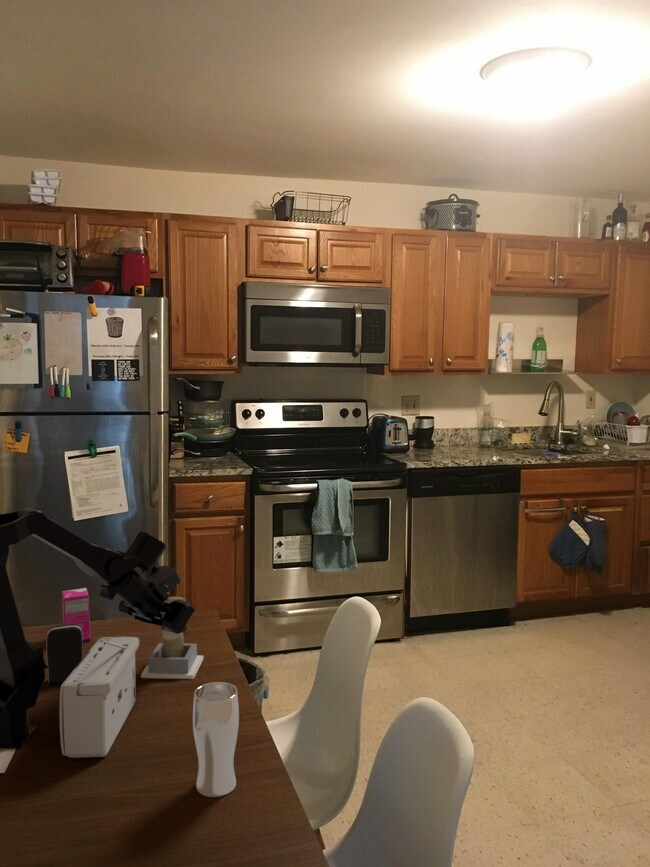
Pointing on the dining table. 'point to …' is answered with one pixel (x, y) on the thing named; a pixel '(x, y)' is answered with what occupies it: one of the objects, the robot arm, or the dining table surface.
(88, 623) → the supplement box
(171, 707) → the dining table surface
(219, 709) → the beer glass
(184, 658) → the plate
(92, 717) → the stereo radio cassette player
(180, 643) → the maple knob
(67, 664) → the battery charger
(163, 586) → the robot arm
